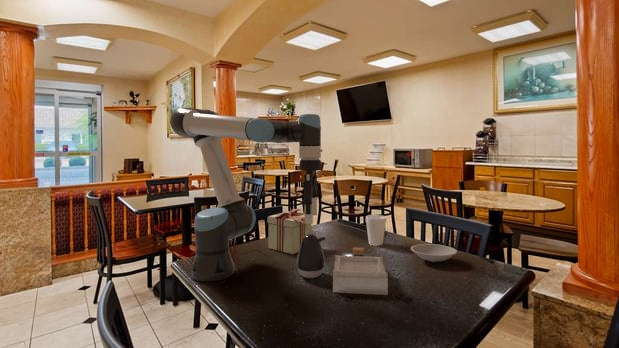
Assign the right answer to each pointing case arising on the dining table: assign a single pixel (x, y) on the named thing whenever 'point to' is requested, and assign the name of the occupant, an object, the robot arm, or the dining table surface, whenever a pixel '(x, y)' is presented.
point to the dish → (433, 252)
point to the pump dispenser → (311, 257)
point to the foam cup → (375, 229)
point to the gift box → (287, 231)
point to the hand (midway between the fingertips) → (311, 219)
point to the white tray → (359, 273)
